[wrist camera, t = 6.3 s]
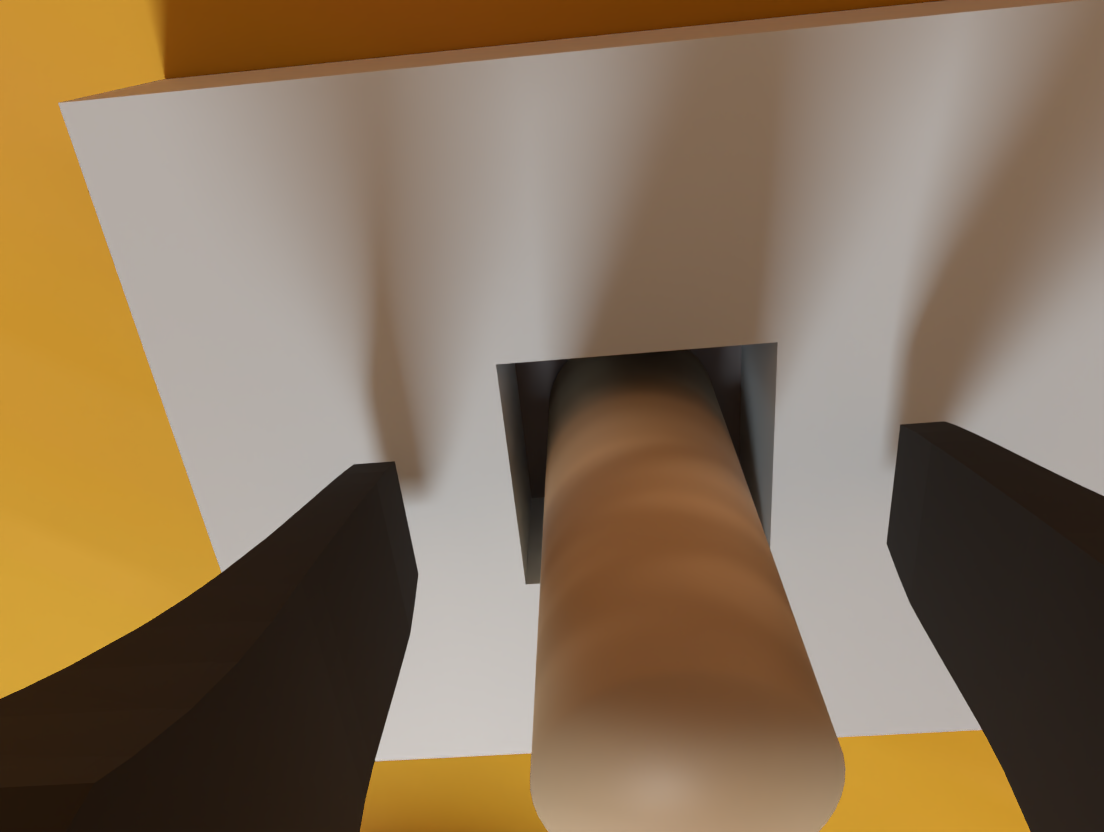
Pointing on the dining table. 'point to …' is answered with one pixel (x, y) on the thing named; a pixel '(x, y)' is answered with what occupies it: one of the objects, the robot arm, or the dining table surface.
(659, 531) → the dowel
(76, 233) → the dining table surface
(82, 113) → the hole board
